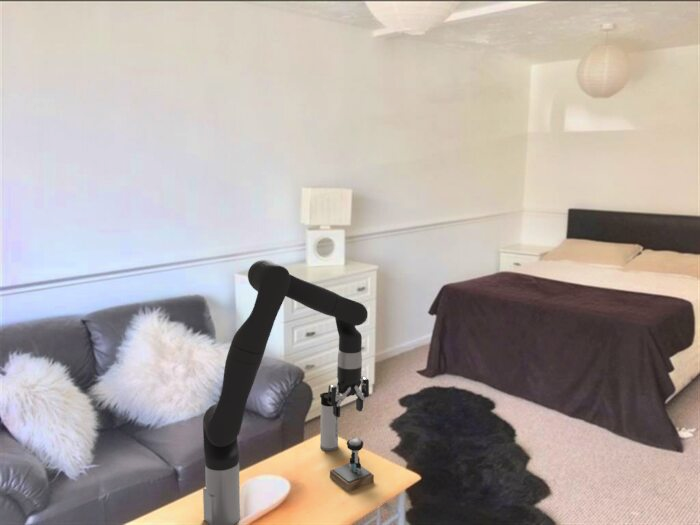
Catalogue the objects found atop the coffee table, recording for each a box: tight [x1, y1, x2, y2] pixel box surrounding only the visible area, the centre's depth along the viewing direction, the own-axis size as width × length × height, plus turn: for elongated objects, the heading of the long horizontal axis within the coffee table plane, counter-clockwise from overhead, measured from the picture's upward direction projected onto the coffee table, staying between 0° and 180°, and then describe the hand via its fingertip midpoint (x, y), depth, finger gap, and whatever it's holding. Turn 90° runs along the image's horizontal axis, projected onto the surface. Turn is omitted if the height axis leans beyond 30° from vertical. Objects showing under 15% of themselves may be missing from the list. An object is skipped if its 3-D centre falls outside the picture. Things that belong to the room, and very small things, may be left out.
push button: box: [346, 436, 364, 474], centre depth 180 cm, size 7×5×10 cm
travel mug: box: [319, 392, 339, 452], centre depth 200 cm, size 6×7×20 cm
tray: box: [329, 462, 375, 493], centre depth 180 cm, size 10×10×3 cm
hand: (348, 413), depth 177 cm, fingers open, 8 cm apart
